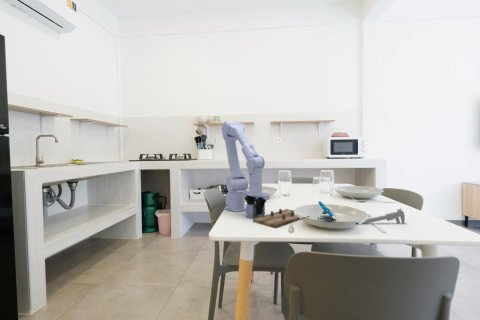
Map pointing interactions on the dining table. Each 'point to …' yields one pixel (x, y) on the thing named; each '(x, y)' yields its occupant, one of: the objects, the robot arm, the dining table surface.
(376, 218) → the caliper
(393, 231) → the dining table surface
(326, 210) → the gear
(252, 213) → the block
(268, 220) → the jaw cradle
